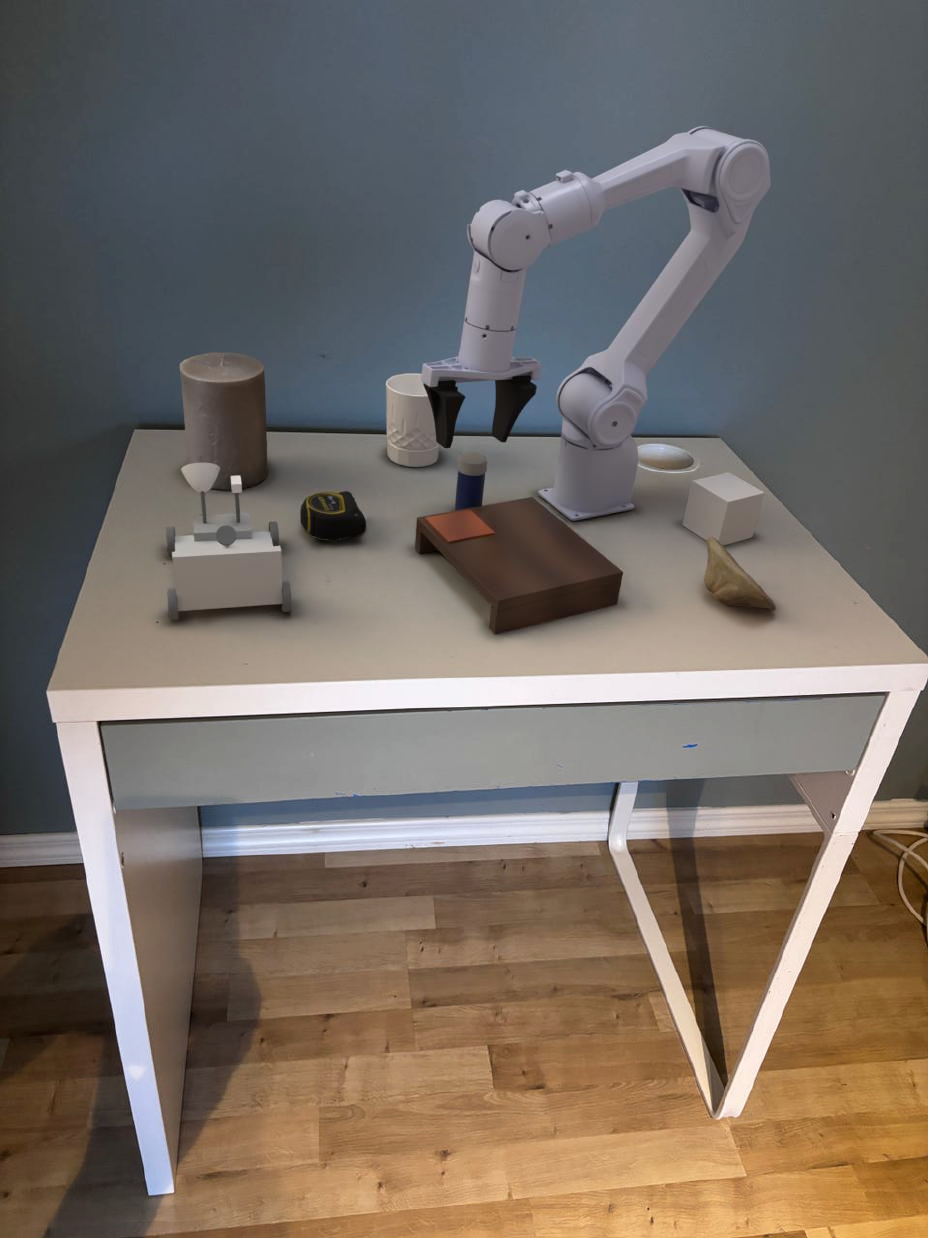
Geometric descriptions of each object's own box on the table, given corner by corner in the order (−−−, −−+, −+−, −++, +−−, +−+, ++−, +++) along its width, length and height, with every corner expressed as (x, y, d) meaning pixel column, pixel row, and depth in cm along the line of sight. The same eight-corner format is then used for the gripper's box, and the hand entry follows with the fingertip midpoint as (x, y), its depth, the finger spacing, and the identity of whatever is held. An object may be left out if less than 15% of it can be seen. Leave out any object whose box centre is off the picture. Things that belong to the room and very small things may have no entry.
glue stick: (473, 506, 120) (478, 449, 115) (486, 519, 117) (492, 461, 113) (448, 511, 118) (453, 453, 114) (461, 524, 116) (467, 465, 112)
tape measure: (367, 544, 110) (368, 514, 108) (306, 549, 108) (306, 519, 106) (354, 515, 115) (354, 486, 113) (295, 519, 113) (295, 490, 111)
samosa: (764, 585, 98) (702, 522, 104) (731, 614, 99) (671, 551, 104) (786, 612, 105) (727, 552, 111) (755, 639, 106) (698, 579, 112)
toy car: (159, 452, 103) (272, 448, 106) (168, 534, 108) (274, 529, 111) (160, 536, 89) (290, 529, 91) (170, 626, 94) (292, 617, 97)
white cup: (389, 441, 134) (392, 370, 128) (447, 448, 133) (452, 377, 128) (377, 465, 127) (380, 391, 122) (437, 473, 127) (442, 399, 121)
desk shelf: (528, 526, 117) (532, 494, 114) (617, 604, 104) (624, 570, 101) (414, 548, 110) (416, 515, 108) (494, 634, 97) (498, 598, 95)
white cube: (682, 525, 120) (692, 480, 117) (717, 515, 123) (728, 471, 120) (716, 547, 116) (728, 501, 113) (752, 537, 119) (764, 492, 116)
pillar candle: (272, 458, 126) (269, 343, 118) (262, 493, 118) (258, 372, 110) (195, 454, 126) (186, 338, 117) (180, 488, 118) (169, 366, 109)
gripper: (524, 310, 111) (504, 423, 119) (413, 312, 104) (399, 433, 111) (561, 330, 107) (537, 446, 114) (447, 334, 99) (430, 458, 106)
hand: (471, 441), depth 112 cm, fingers open, 7 cm apart
